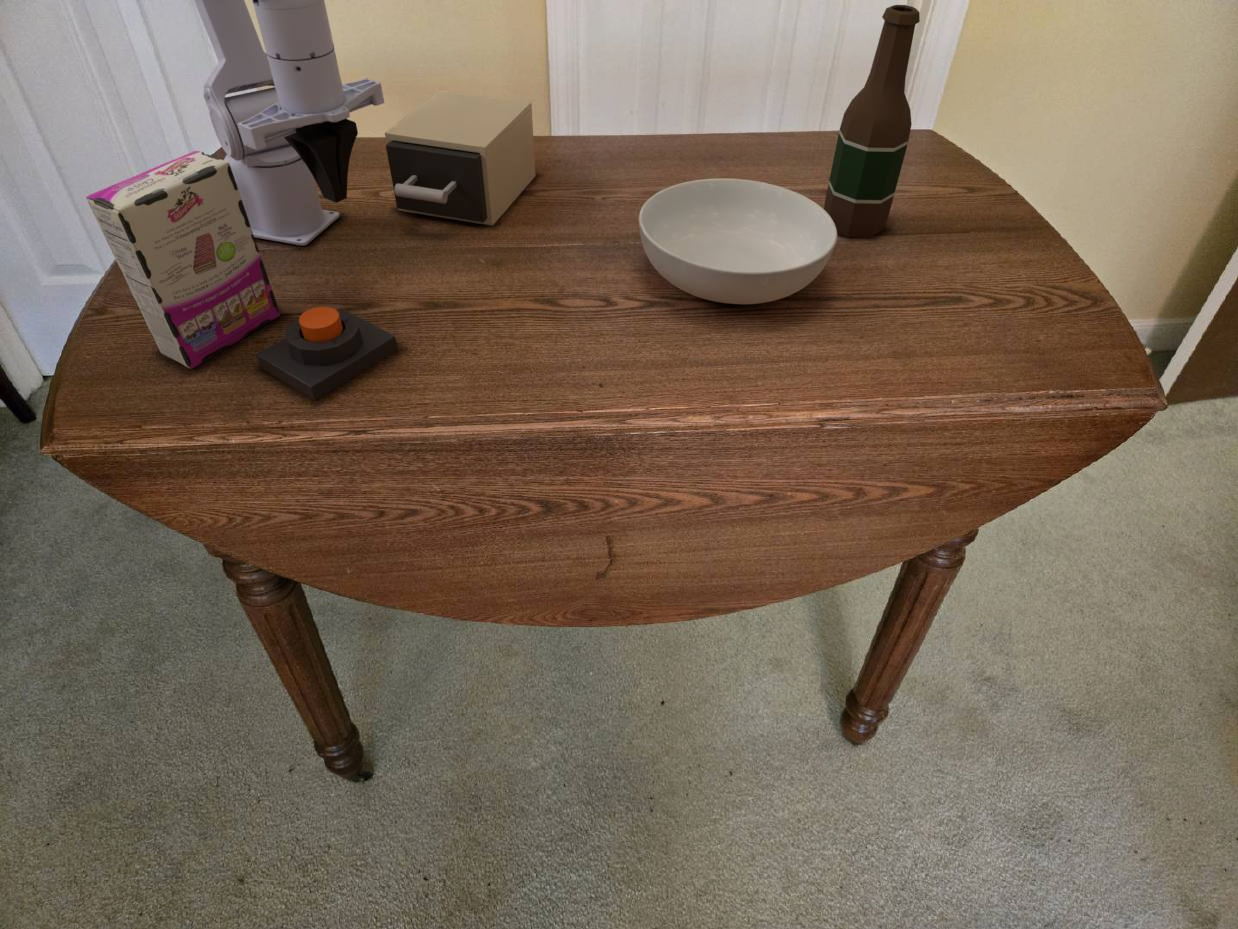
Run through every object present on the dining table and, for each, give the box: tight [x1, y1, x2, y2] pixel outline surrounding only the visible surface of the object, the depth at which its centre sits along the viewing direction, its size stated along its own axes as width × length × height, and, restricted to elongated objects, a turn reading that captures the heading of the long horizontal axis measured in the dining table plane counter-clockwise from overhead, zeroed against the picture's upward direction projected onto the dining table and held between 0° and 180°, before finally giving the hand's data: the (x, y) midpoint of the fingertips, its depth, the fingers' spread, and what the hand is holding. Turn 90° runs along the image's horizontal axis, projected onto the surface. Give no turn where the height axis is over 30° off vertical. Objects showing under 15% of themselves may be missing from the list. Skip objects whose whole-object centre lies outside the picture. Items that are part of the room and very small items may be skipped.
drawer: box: [385, 141, 487, 222], centre depth 99 cm, size 18×11×8 cm, turn 163°
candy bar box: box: [85, 150, 281, 370], centre depth 76 cm, size 11×5×16 cm, turn 148°
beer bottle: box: [823, 4, 921, 239], centre depth 92 cm, size 8×8×24 cm
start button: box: [298, 306, 343, 342], centre depth 76 cm, size 4×4×2 cm
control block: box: [256, 308, 399, 402], centre depth 78 cm, size 10×8×4 cm
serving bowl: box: [638, 177, 838, 305], centre depth 89 cm, size 21×21×7 cm
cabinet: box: [384, 89, 536, 227], centre depth 102 cm, size 15×13×10 cm
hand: (335, 197), depth 81 cm, fingers closed
